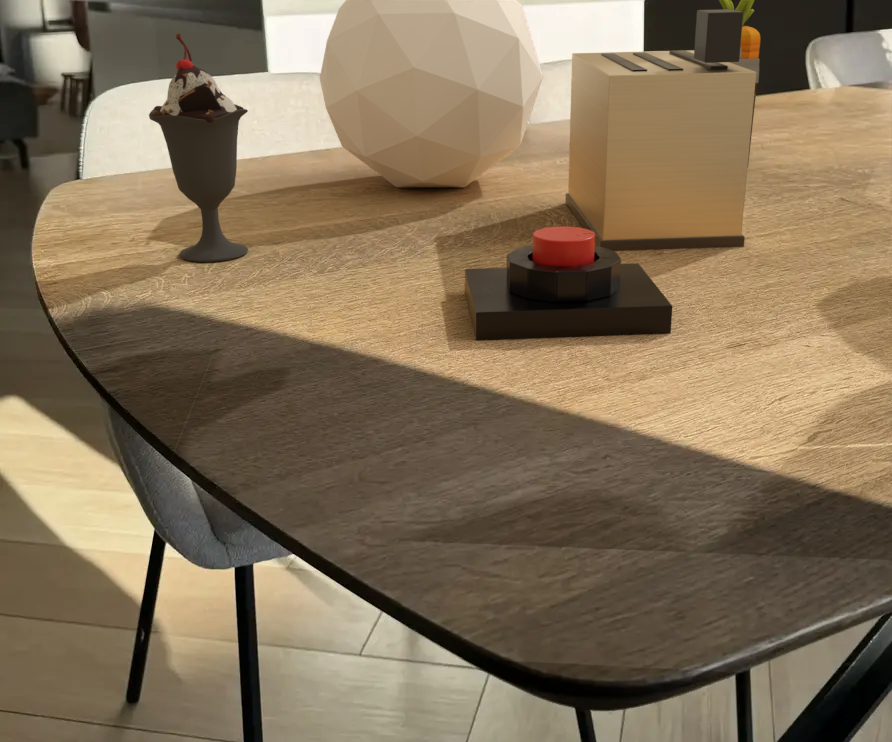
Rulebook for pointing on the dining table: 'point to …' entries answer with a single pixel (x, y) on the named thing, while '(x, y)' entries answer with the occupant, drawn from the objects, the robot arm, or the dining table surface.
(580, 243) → the button
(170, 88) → the sundae
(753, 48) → the carrot
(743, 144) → the toaster
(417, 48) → the ball
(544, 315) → the block
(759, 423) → the dining table surface
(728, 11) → the block
